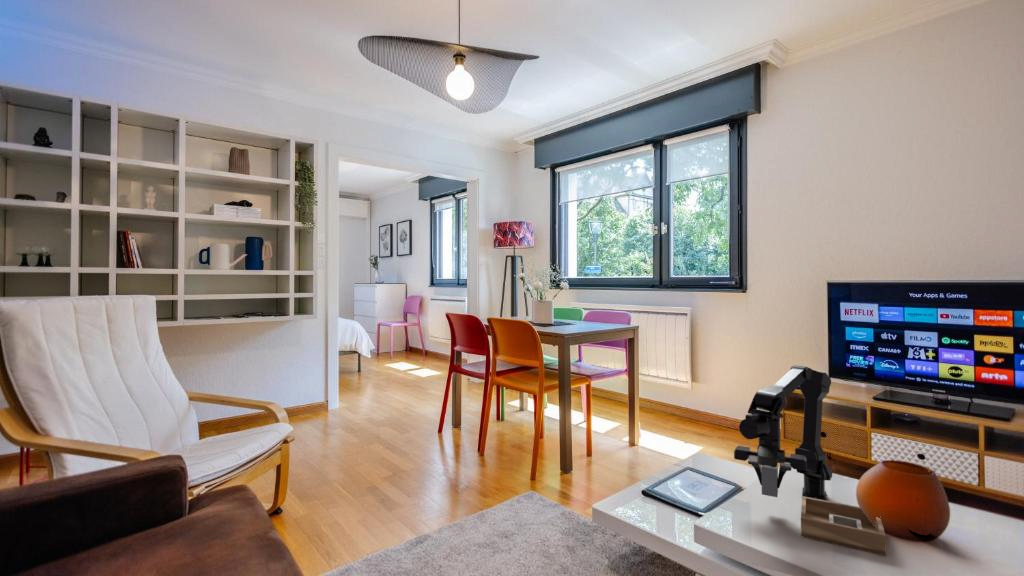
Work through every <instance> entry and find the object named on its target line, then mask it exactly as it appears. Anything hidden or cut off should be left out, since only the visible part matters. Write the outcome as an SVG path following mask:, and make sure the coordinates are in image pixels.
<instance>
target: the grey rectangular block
mask: <svg viewBox="0 0 1024 576" xmlns="http://www.w3.org/2000/svg"><path fill="white" fill-rule="evenodd" d="M761 469H762V485H761V495H764V496H767V497H773V498H778V494H779V488H777V482H778V475H779V470H778V469H779V465H777V467H771V466H767V465H764V466H763V465H761Z"/></svg>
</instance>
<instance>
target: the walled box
mask: <svg viewBox="0 0 1024 576" xmlns="http://www.w3.org/2000/svg"><path fill="white" fill-rule="evenodd" d="M860 507H861V506H856V505H850V504H845V503H841V502H835V501H829V500H824V499H819V498H813V497H808V496H803V495H802V496H801V508H800V509H801V510H800V537H801V538H805V539H809V540H813V541H819V542H822V543H829V544H833V545H836V546H839V547H840V546H841V547H845V548H849V549H853V550H859V551H862V552H867V553H871V554H876V555H879V556H880V555H881V556H885V557H886V556H887V539H886V537H887V536H886V532H885V528H884V525H883V522H882V519H880V518H881V517H880V518H878V517H876V521H875V526H873V524H872V523H871V522H870V521H869V520H868V518H867V517H866V515H865V514H864V513H863V511H862V509H861V508H860Z"/></svg>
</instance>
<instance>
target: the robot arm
mask: <svg viewBox="0 0 1024 576" xmlns="http://www.w3.org/2000/svg"><path fill="white" fill-rule="evenodd" d="M831 384H832V379H831V377H830V376H829V375H828V374H827V372H823V371H818V370H814V369H812V368H810V367H808V366H803V365H792V366H791V367H790V369H789V371H787V373H785V374H784V375H783V376H782V377H780V378H779V379H778V381H776V382H775V383H774V384H772V385H769V386H764V387H762V388H760V389H759V390H757V391H756V392H755V393H754V396H753V398H752V401H751V403H750V405H749V407H748V411H747V414H745V417H744V419H742V420H741V421H740V422H739V425H738V427H739V432H740V434H741V435H742V437H743V438H745V439H747V440H755V439H757V438H758V446H757V450H756V451H753V450H751V446H750V447H749V446H744V445H743V446H742V445H737V446H736V447H735V448H734V452H733V458H734V460H737V461H743V462H745V461H747V464H748V465H751V467H753V468H754V470H755V473H756V475H757V478H758V482H759V484H760V486H762V469H761V467H762V465H763V466H764V465H767V466H771V467H777V466H778V464H780V465H779V467H778V469H779V470H778V482H777V488H778V489H780V486H781V484H782V482H783V478H784V477H785V474H786V472H791V471H792V469H793V470H796V473H798V474H802V475H803V487H802V492H801V493H802V494H801V495H802V496H804V497H809V498H814V499H820V500H825V501H828V500H827V491H826V488H825V485H826V482H825V481H831V479H832V478H833V470H832V469H831V467H830V466H829V464H828V463H827V455H826V452H825V450H824V449H823V448H822V446H821V440H822V439H821V438H822V423H823V422H822V418H823V403H824V402H823V400H825V398H826V397H827V395H828V394H829V393H830V389H831V388H830V387H831V386H832V385H831ZM798 388H799V390H800V392H801V393H802V395H803V397H804V404H803V405H804V408H803V409H804V410H803V424H802V425H803V428H802V441H801V444H800V445H799V446H798V447H796V448H795V449H794V453H790V456H786V451H785V450H783V449H781V419H783V418H785V417H784V414H783V413H782V411H783V410H784V409H785V407H786V406H787V404H788V403H787V398H788V397H789V396H791V394H793V392H795V390H797V389H798Z"/></svg>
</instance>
